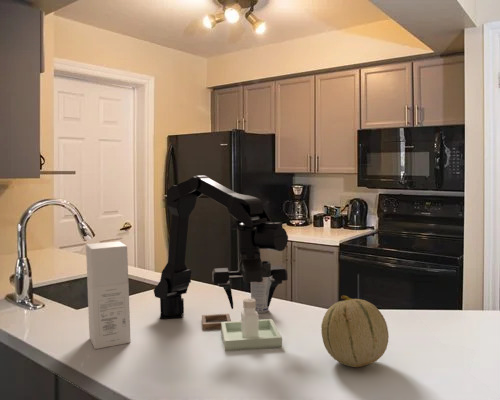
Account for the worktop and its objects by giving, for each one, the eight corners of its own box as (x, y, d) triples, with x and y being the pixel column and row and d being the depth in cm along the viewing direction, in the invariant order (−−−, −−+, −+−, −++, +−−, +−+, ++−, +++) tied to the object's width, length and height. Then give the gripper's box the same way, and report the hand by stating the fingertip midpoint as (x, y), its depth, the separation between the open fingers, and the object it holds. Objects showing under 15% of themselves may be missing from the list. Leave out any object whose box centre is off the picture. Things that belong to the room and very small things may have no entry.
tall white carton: (123, 332, 125) (120, 241, 123) (130, 342, 117) (127, 245, 115) (89, 338, 120) (85, 244, 119) (94, 349, 113) (90, 249, 111)
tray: (225, 351, 110) (224, 340, 110) (221, 331, 124) (221, 322, 124) (282, 347, 112) (281, 337, 112) (272, 327, 126) (272, 319, 126)
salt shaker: (241, 334, 120) (240, 298, 119) (256, 333, 121) (255, 297, 120) (243, 339, 116) (243, 302, 115) (259, 338, 117) (258, 301, 116)
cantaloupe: (377, 385, 92) (377, 311, 91) (310, 369, 100) (309, 301, 99) (396, 358, 104) (396, 294, 103) (335, 346, 112) (335, 286, 111)
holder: (202, 329, 126) (202, 324, 125) (201, 320, 134) (201, 315, 133) (231, 327, 127) (231, 322, 126) (229, 318, 134) (229, 313, 134)
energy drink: (269, 308, 144) (268, 270, 143) (268, 313, 139) (267, 274, 138) (252, 307, 145) (251, 270, 144) (250, 313, 139) (249, 274, 139)
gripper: (213, 254, 107) (215, 319, 108) (291, 251, 110) (292, 315, 111) (211, 246, 118) (213, 306, 119) (282, 243, 121) (283, 302, 122)
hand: (250, 307), depth 118 cm, fingers open, 9 cm apart
